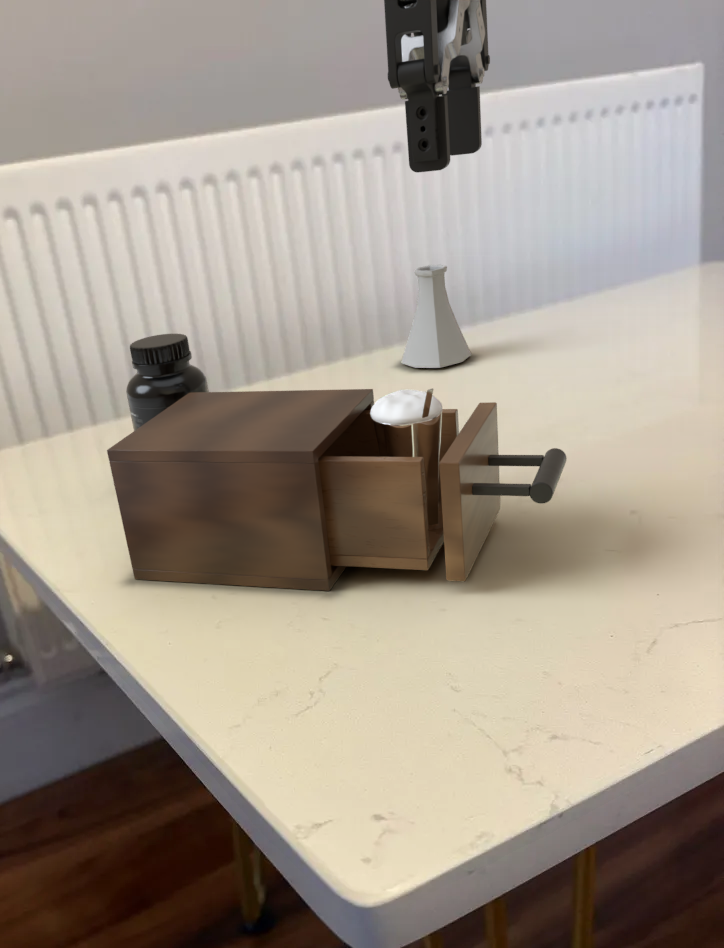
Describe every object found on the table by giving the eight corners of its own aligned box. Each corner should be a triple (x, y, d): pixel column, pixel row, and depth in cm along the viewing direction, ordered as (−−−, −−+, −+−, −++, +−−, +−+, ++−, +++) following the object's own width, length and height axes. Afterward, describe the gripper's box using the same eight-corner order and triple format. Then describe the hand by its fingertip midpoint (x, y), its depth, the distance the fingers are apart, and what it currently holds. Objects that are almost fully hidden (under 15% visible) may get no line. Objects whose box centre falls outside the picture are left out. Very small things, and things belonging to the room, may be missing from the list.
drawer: (572, 511, 70) (572, 400, 67) (546, 586, 61) (545, 463, 58) (321, 504, 78) (309, 404, 74) (264, 571, 68) (247, 460, 65)
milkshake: (409, 549, 66) (397, 397, 61) (369, 523, 70) (355, 381, 66) (469, 530, 67) (462, 380, 63) (426, 506, 72) (416, 365, 67)
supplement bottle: (139, 473, 92) (112, 340, 87) (213, 457, 93) (191, 325, 88) (150, 497, 86) (122, 356, 81) (229, 480, 87) (206, 340, 82)
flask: (389, 366, 113) (382, 273, 109) (431, 349, 117) (426, 259, 113) (441, 373, 108) (435, 276, 104) (483, 355, 112) (479, 261, 108)
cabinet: (384, 514, 77) (373, 388, 72) (329, 591, 67) (312, 451, 62) (209, 508, 82) (189, 392, 78) (134, 579, 72) (106, 450, 68)
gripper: (473, -210, 47) (486, 171, 54) (526, -167, 58) (531, 142, 66) (319, -172, 50) (351, 184, 57) (398, -138, 61) (417, 154, 69)
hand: (447, 161), depth 61 cm, fingers open, 8 cm apart
